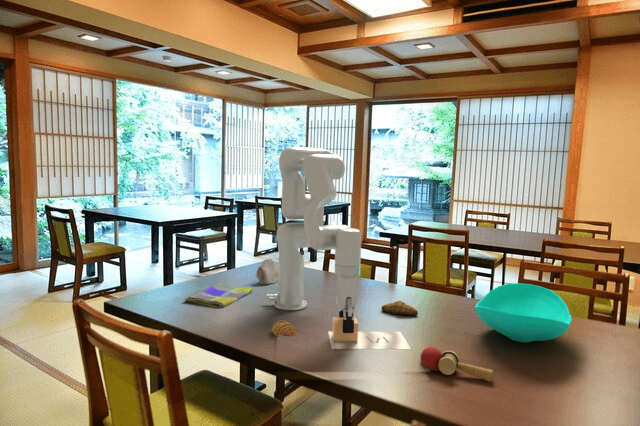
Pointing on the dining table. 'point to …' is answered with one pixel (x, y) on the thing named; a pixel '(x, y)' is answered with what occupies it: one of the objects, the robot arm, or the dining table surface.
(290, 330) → the pastry
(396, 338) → the ash board
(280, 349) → the dining table surface
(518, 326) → the table top decor
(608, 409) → the dining table surface
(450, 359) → the kendama
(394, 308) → the croissant
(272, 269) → the pumice stone
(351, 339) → the block
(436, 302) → the dining table surface
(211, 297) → the dish towel
